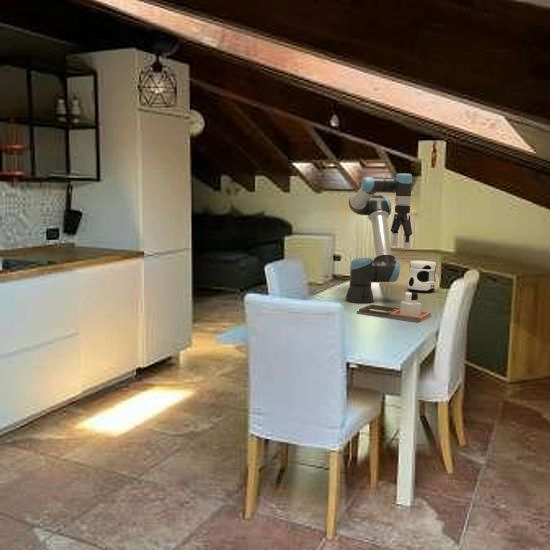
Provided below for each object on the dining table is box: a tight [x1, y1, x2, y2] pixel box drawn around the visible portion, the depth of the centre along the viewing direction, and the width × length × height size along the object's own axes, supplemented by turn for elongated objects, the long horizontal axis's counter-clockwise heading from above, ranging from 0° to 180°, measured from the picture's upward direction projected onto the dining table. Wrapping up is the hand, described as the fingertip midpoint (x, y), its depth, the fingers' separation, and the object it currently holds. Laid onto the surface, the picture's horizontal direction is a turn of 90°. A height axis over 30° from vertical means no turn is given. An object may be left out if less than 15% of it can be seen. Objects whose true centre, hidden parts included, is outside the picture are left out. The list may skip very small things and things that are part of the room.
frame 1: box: [358, 304, 400, 315], centre depth 300 cm, size 15×15×2 cm
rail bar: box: [356, 310, 421, 323], centre depth 288 cm, size 2×31×1 cm, turn 58°
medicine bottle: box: [399, 291, 422, 317], centre depth 291 cm, size 7×7×12 cm
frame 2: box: [390, 308, 432, 323], centre depth 292 cm, size 15×15×2 cm
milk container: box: [406, 259, 437, 293], centre depth 369 cm, size 17×17×18 cm
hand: (400, 247), depth 305 cm, fingers open, 13 cm apart
